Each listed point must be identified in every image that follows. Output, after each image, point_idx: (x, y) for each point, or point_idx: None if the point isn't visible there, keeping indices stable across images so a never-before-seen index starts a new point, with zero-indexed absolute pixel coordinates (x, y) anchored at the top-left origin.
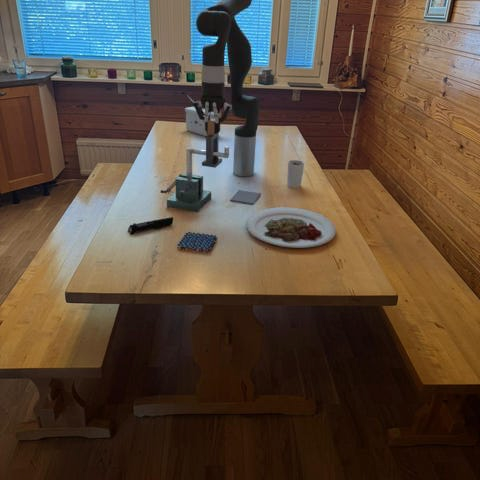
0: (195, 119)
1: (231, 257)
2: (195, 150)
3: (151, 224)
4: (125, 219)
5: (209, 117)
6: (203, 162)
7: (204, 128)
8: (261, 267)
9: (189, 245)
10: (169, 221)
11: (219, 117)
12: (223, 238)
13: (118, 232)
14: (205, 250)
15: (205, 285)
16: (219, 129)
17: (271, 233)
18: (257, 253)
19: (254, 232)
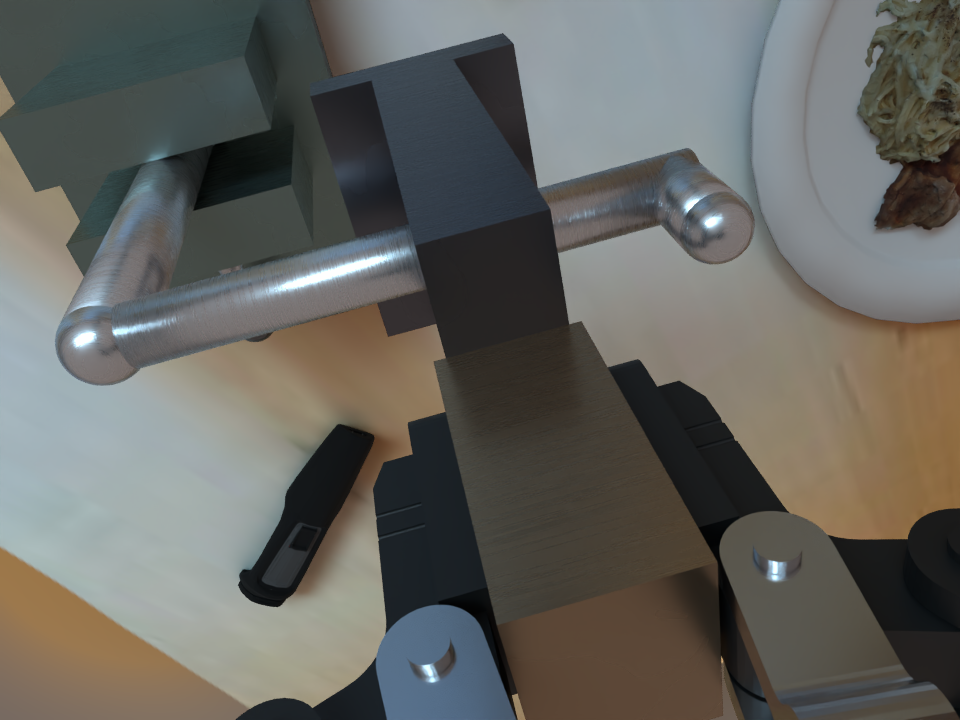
0: None
1: (775, 471)
2: (221, 345)
3: (323, 537)
4: (110, 525)
5: (498, 714)
6: (405, 328)
7: None
8: (905, 456)
9: None
10: (365, 457)
11: (842, 645)
12: (682, 375)
13: (219, 609)
14: None
15: None
16: (706, 431)
17: (925, 224)
18: (871, 387)
19: (831, 268)
